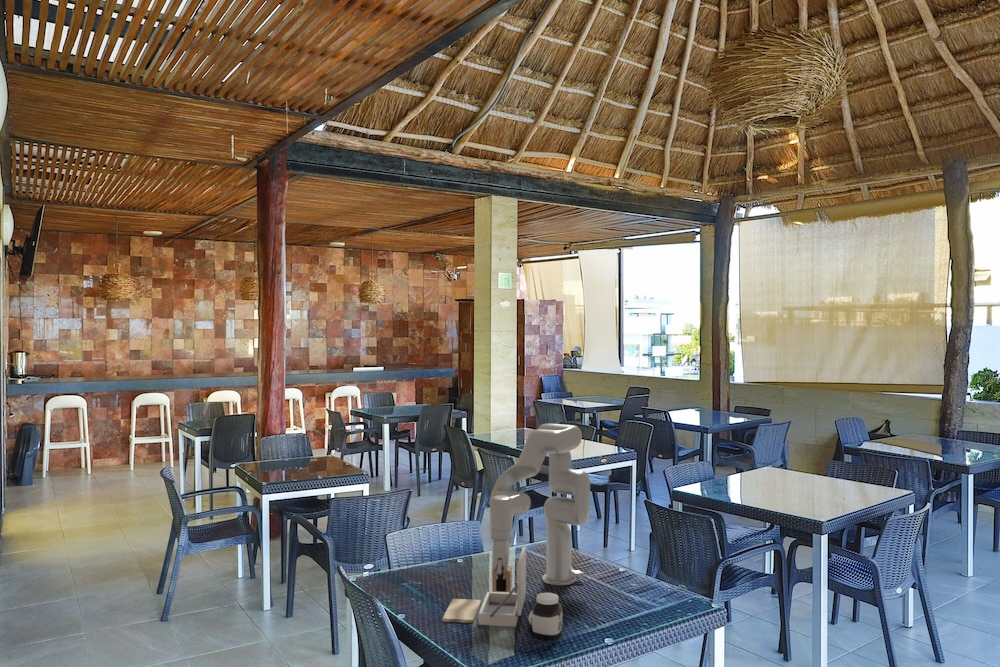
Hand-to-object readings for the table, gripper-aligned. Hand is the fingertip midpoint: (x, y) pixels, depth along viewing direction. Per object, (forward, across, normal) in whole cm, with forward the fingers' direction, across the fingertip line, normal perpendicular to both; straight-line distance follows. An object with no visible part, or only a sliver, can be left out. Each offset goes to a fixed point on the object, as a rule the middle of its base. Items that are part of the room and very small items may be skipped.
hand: (502, 587), depth 236 cm
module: (+1, 0, 0) cm, 1 cm away
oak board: (+8, +1, -13) cm, 16 cm away
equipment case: (+9, +1, 0) cm, 9 cm away
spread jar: (+9, +14, +15) cm, 22 cm away
